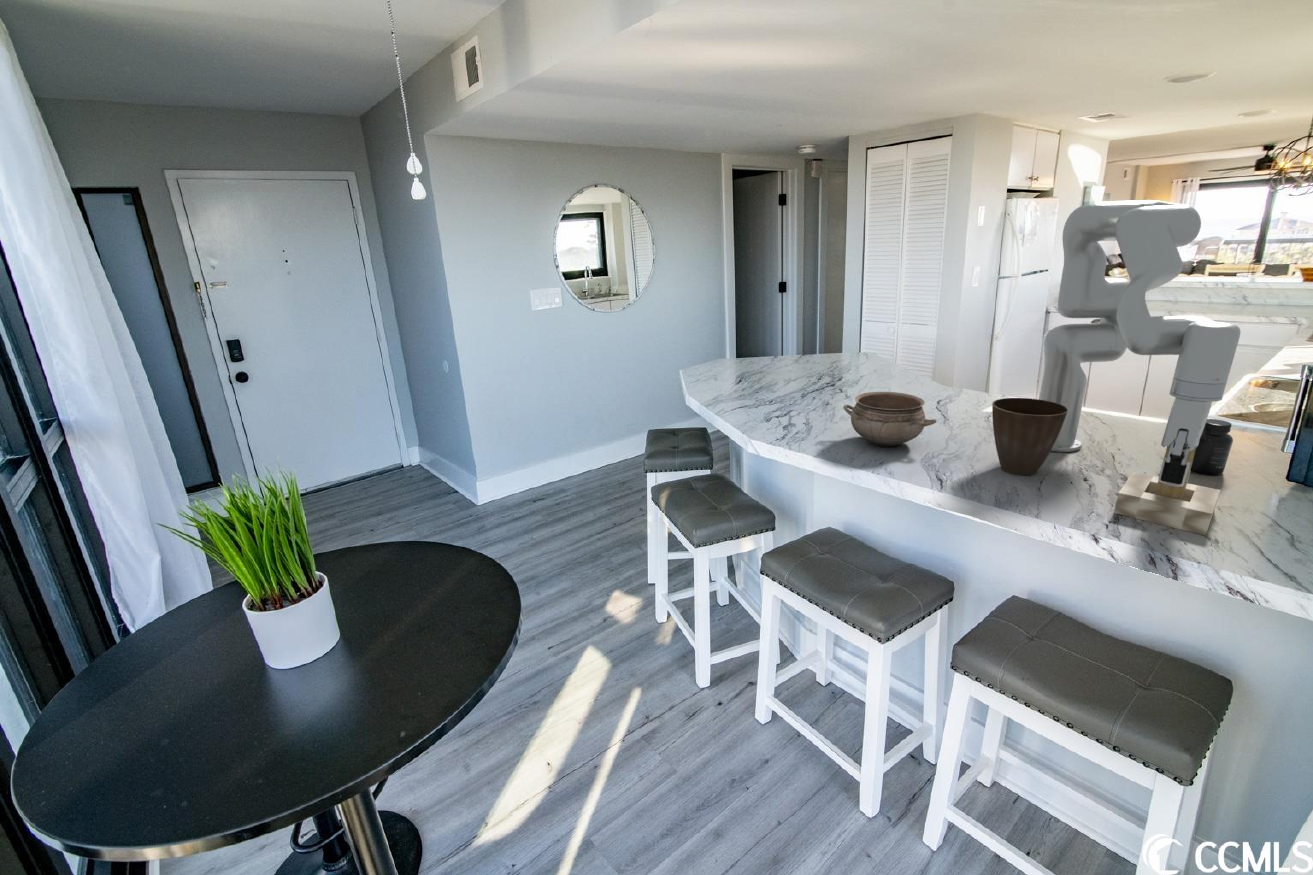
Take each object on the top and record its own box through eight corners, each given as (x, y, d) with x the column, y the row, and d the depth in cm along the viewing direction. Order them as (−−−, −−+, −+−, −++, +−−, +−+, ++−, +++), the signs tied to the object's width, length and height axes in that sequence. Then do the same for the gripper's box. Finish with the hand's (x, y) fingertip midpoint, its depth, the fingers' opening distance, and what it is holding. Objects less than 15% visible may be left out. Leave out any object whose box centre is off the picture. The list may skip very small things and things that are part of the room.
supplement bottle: (1175, 466, 141) (1189, 418, 137) (1202, 464, 141) (1216, 416, 137) (1203, 477, 134) (1218, 427, 130) (1231, 475, 135) (1246, 425, 131)
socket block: (1113, 512, 120) (1118, 492, 119) (1128, 491, 129) (1132, 472, 128) (1205, 535, 110) (1212, 513, 109) (1214, 510, 119) (1220, 490, 118)
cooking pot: (944, 442, 162) (949, 399, 158) (919, 463, 148) (924, 416, 144) (856, 425, 178) (859, 386, 174) (827, 443, 164) (829, 401, 160)
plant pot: (971, 468, 144) (980, 405, 139) (1000, 454, 152) (1010, 393, 147) (1037, 487, 132) (1050, 419, 127) (1066, 470, 141) (1079, 406, 135)
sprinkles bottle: (1186, 498, 118) (1204, 434, 114) (1177, 504, 116) (1195, 439, 111) (1158, 490, 122) (1174, 428, 117) (1149, 496, 119) (1165, 433, 115)
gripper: (1177, 377, 119) (1156, 462, 125) (1163, 395, 109) (1140, 486, 115) (1228, 383, 114) (1203, 470, 120) (1218, 402, 103) (1191, 497, 109)
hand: (1173, 477), depth 117 cm, fingers closed on sprinkles bottle, 4 cm apart
